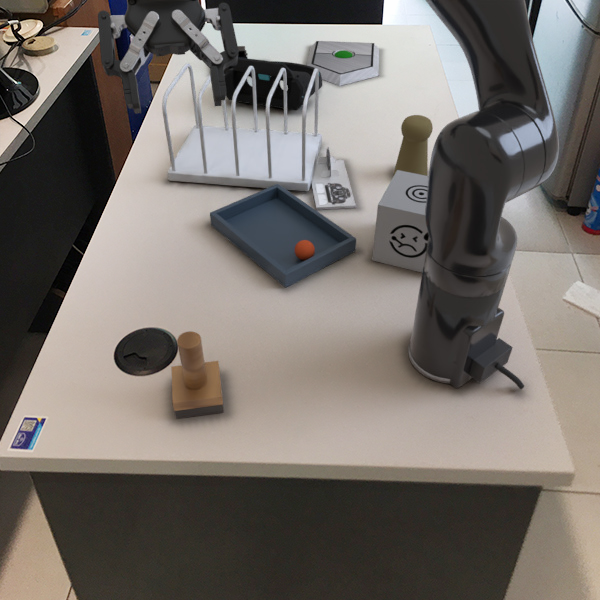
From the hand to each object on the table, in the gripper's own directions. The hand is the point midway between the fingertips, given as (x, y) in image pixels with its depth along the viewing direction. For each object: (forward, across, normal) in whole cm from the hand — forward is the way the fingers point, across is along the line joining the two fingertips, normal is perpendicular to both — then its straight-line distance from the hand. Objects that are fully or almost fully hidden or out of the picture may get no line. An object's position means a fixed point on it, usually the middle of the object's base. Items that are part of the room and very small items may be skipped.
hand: (178, 107), depth 67 cm
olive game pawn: (+2, +39, +40) cm, 56 cm away
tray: (+11, +13, +31) cm, 35 cm away
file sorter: (-6, +11, +47) cm, 49 cm away
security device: (-33, +40, +75) cm, 91 cm away
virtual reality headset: (-25, +22, +67) cm, 75 cm away
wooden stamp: (+32, -2, +10) cm, 33 cm away
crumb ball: (+14, +16, +25) cm, 33 cm away
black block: (-36, +16, +78) cm, 87 cm away
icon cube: (+16, +32, +26) cm, 45 cm away
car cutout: (+2, +24, +40) cm, 47 cm away
